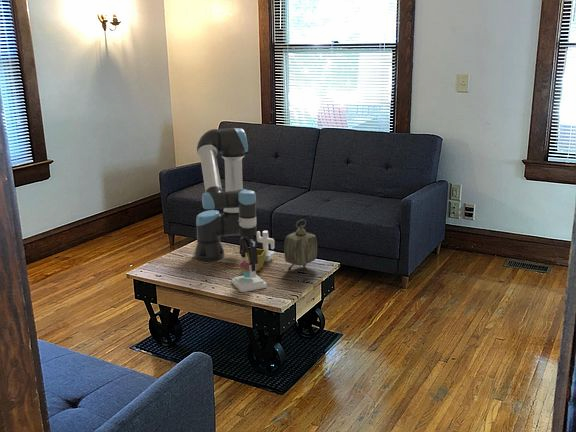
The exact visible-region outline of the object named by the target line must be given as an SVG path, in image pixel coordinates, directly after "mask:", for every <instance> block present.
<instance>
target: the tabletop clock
mask: <svg viewBox="0 0 576 432" xmlns="http://www.w3.org/2000/svg"><path fill="white" fill-rule="evenodd" d="M301 221H302V222H305V223H304V225H302V224H300V225H299V226H298V224H299V223H300V222H301ZM306 225H307V221H306V219H304V218H301V219H299V220H297V221H296V223H295V227H296V230H295V231H294V232H292V233H289V234H288V235H286V237H285V238H284V245H283V247H284V248H283V249H284V250H283V253H284V255H283V256H284V260H285V262H286V263H289V264H291V265H290V267H288V268H287V271H289V272H290V271H292V268H293V267H294V266H299V267H301V266H303V267H302V270H303V271H306V270H307V267H305V266H306V265H308V264H310V263H312V262H314V261H315V260H316V259H317V255H318V239H317V236H316V235H315V233H314V234H313V233H311V232H307V231H306V229H305V228H304V227H306Z"/></svg>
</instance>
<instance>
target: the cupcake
mask: <svg viewBox="0 0 576 432" xmlns="http://www.w3.org/2000/svg"><path fill="white" fill-rule="evenodd" d="M245 255H246V261H243V262H242V261H241V262H240V264H239V265H238V266H239V270H240V271H241V272H242V274H243V275H244V277H246V278H250V270H249V264H250V260H248V259H247V253H245ZM257 269H258V264H256V270H257ZM243 275H242V276H243Z"/></svg>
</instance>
